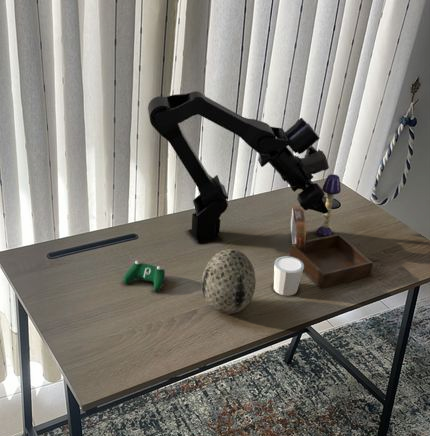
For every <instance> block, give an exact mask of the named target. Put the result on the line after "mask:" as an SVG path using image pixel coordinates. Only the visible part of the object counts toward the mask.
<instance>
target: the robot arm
mask: <svg viewBox="0 0 430 436" xmlns="http://www.w3.org/2000/svg"><path fill="white" fill-rule="evenodd" d="M147 112H148V117H149V122H150V125H151V126H152V127H153V128H154V130H155V131H156V132H157V133H158V134H159V135H160V136H161V137H163V139H165V140H166V141H167V142H168V143H169V145H170V146H171V147H172V149H173V151H174V153H175V154H176V155H177V157H178V159H179V160H180V162H181V164H182V165H183V166H184V168H185V170H186V171H187V173H188V174H189V176H190V178H191V179H192V181H193V183H194V184H195V186H196V187H197V190H198V193H199V195H197V196H196V197H195V198H194V199H193V200H192V203H193V207H194V211H195V212H194V213H192V214H191V228H190V229H188V233H189V235H190V236H191V237H192V239H194V240H195V241H196V242H197V244H203V243H204V244H205V243H209V242H213V241H219V240H221V236H220V231H221V230H220V229H221V219H220V218H221V216H222V214H224V213H226V211H227V209H228V207H229V202H228V199H229V195H228V193H227V190H226V187H225V185H224V184H223V183H222V182H221V181H220V178H219V175H217V174H216V175H214V176H211V175H210V174H209V173H208V171H207V170H206V168H205V166H204V165H203V162H202V161H201V159H200V158H199V156H198V155H197V153H196V152H195V150H194V148H193V146H192V145H191V143H190V142H189V140H188V138H187V137H186V135H185V133H184V132H183V130H182V128H181V125H180V124H181V123H183V122H185V121H187V120H188V119H190V118H192V117H194V116H200V117H202V118H204V119H206V120H208V121H210V122H211V123H214V124H216V125H217V126H219V127H221V128H223V129H225V130H227V131H228V132H230V133H232V134H234V135H236V136H238V137H239V138H240V139H242V140H243V141H244V143H246V144H247V145H248V146H249V147H250V148H252V149H253V150H254V151H255V153H257V154H258V159H257V161H258V163H259V166H260V167H261V168H264V166H266V165H267V164H268V163H269V165H270V166H271V167H272V168H273V169H274V170H275V171H276V172H277V174H279V176H280V177H281V180H282V181H283V182H286V183H287V184H288V185H289V187H290V189H291V190H292V191H293V192H294V193H295V192H297V191H298V190H302V191H300V192H299V193H298V194H297V199H296V200H297V201H298V204H299V206H301V207H302V208H303V211H307V210H311V211H314V212H316V213H317V212H318V213H321V214H323V215H324V214H326V213H327V212H328V209H327V207H326V203H325V202H324V200H323V198H324V197H325V196H326V193H325V192H324V191H323V190H322V187H321V186H320V184H318V182H313V179H314V175H316V174H318V173H320V172H323V171H327V170H329V169H330V166H329V162H328V159H327V156H326V154H325V152H324V151H323V150H320V149H316V148H315V147H314V146H313V145H315V143H316V142H318V141H319V140H320V139H321V138H320V136H319V134H317V132H316V131H315V130H314V128H313V127H312V125H310V124H309V122H307V121H306V120H305V119H304V118H303V117H299V119H298V120H297V121H295V123H294V124H293V125H292V126H290V127H289V128H288V129H287V130H286V131H285V130H284V128H282V127H276V126H270V124H268V123H267V122H264V121H262V120H258V119H255V118H248V117H244V116H242V115H240V114H239V113H236V112H235V111H233V110H232V109H229V108H228V107H226V106H224V105H222V104H221V103H219V102H216V101H214V100H213V99H212V98H209V97H208V96H206V95H204V94H203V93H202V92H200V91H196V90H195V91H191V92H188V93H179V94H171V95H168V96H161V95H160V96H159V95H158V96H155V97H153V98H151V100H150V101H149V103H148V105H147ZM288 147H289V148H290V149H291V150H290V149H289V148H288ZM293 152H294V153H293ZM304 152H305V154H304V156H303V157H299V156H298V155H301V154H303V153H304ZM294 154H298V155H294Z"/></svg>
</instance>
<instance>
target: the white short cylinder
mask: <svg viewBox="0 0 430 436" xmlns="http://www.w3.org/2000/svg"><path fill="white" fill-rule="evenodd" d="M273 268H274V270H273V290H274V291H275V292H276V293H277V294H279V295H282V296H286V297H288V296H289V297H290V296H293V295H295V294H296V293H297V292H298V289H299V285H300V282H301V280H302V275H303V272H304V271H303V269H304V264H303V262H302V261H300V260H299V259H297V258H294V257H290V255H286V256H280V257H278V258H276V259H275V260H274V267H273Z"/></svg>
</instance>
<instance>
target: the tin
mask: <svg viewBox="0 0 430 436" xmlns="http://www.w3.org/2000/svg"><path fill="white" fill-rule="evenodd" d="M290 236H291V245H292V244H294V243H296V246H297V247H298V248H299V249H300V250H301V251H303V252H304V250H305V243H306V241H307V225H306V218H305V210H304V209H303V208H302V207H301V206H300V205H292V207H291V219H290Z"/></svg>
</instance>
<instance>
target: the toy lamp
mask: <svg viewBox="0 0 430 436" xmlns="http://www.w3.org/2000/svg"><path fill="white" fill-rule="evenodd" d="M323 183H324V184H323V186H322V187H321V189H322V190H323V192H324V194H326V195H327V196H326V201H325V206H326V207H327V209H328V212H327V213H326V214H324V213H323V221H322V225H321V226H319V227H317V229H316V232H315V233H316V234H315V235H317V236H318V237H319V238H321V237H326V236H331V235H333V231H332V229H331V228H330V227H329V226H330V221H331V215H332V214H331V213H332V207H333V201H334V196H335V195H338V194H340V193H341V191H342V189H341V188H342V187H341V179H340V176H339V175H337V174H333V173H331V174H328V175H327V177H326V179H325V181H324V182H323Z"/></svg>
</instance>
